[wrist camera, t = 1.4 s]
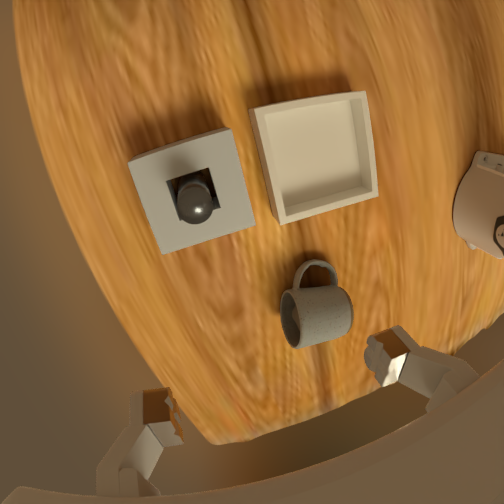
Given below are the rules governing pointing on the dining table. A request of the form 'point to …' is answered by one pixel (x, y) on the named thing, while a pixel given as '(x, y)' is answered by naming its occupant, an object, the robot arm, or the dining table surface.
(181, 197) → the pin
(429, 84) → the dining table surface
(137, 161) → the grey square socket block
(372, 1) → the dining table surface
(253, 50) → the dining table surface
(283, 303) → the ceramic mug
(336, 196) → the tray
